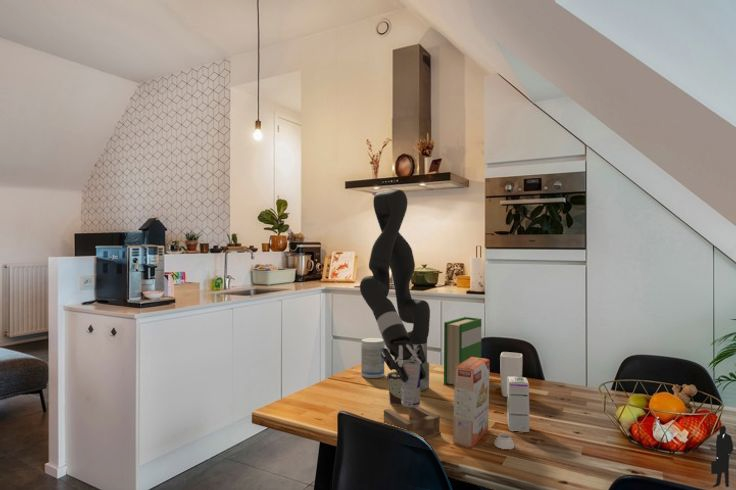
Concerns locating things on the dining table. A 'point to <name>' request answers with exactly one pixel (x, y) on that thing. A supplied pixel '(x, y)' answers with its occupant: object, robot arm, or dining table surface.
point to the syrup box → (518, 404)
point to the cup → (509, 368)
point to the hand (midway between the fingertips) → (414, 379)
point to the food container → (395, 388)
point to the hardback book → (460, 344)
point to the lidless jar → (504, 441)
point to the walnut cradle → (415, 421)
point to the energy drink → (411, 384)
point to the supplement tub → (372, 358)
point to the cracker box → (471, 401)
